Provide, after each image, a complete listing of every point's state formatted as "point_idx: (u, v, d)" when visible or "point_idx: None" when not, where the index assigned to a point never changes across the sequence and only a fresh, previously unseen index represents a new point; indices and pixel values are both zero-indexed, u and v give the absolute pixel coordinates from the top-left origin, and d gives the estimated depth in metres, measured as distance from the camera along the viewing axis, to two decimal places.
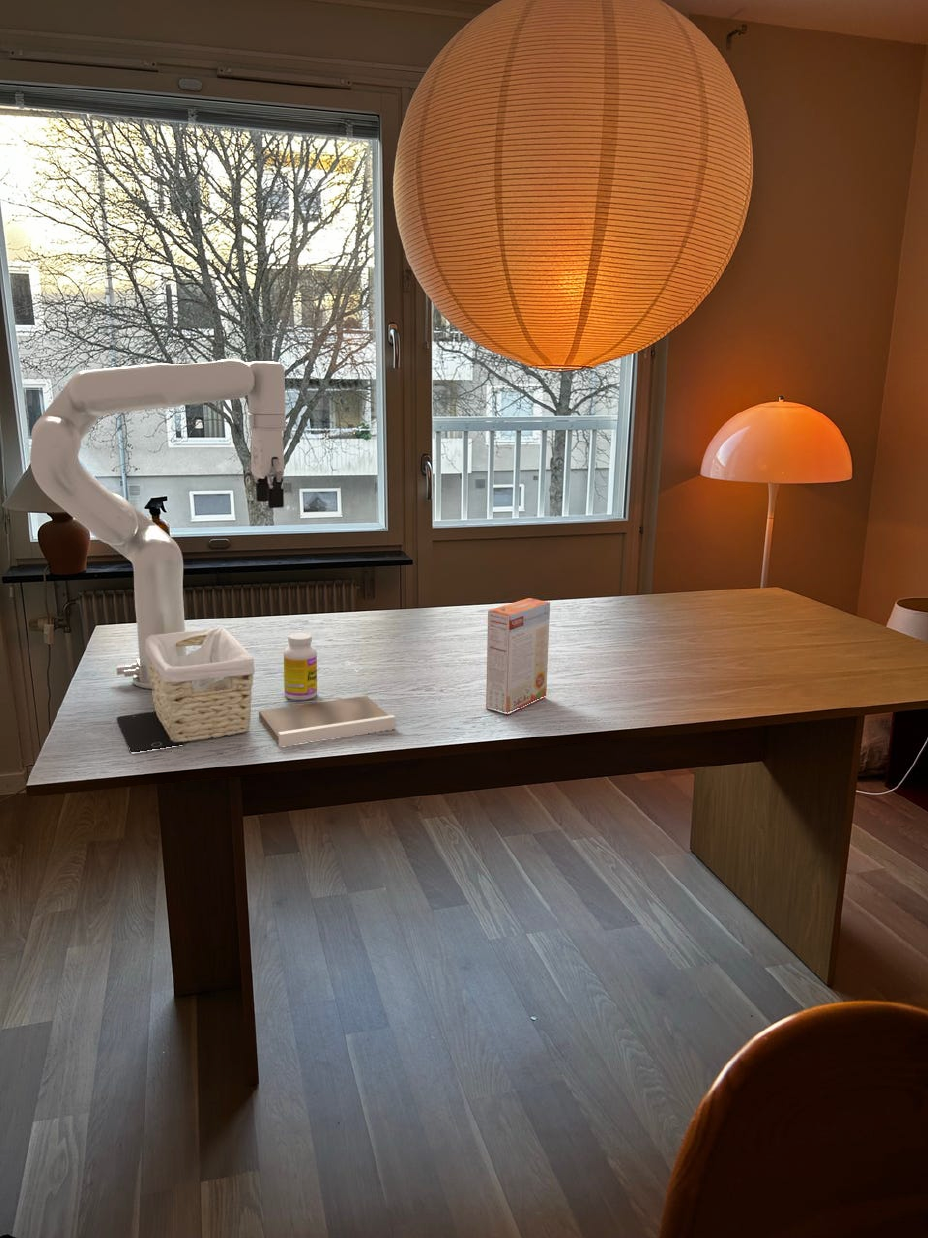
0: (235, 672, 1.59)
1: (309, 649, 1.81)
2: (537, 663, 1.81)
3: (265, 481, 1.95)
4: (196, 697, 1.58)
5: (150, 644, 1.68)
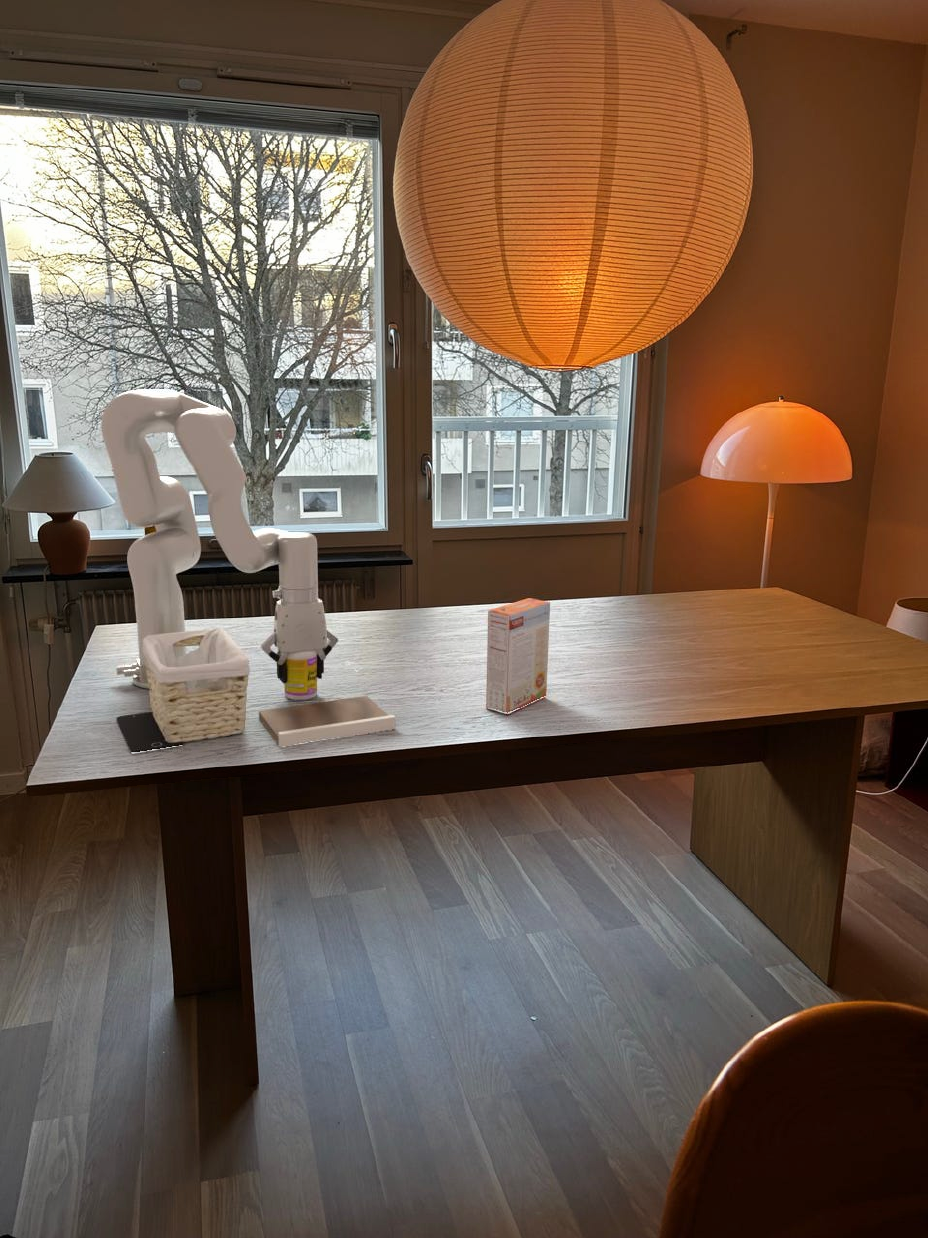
0: (230, 673, 1.59)
1: None
2: (537, 663, 1.81)
3: None
4: (191, 698, 1.58)
5: (147, 644, 1.68)
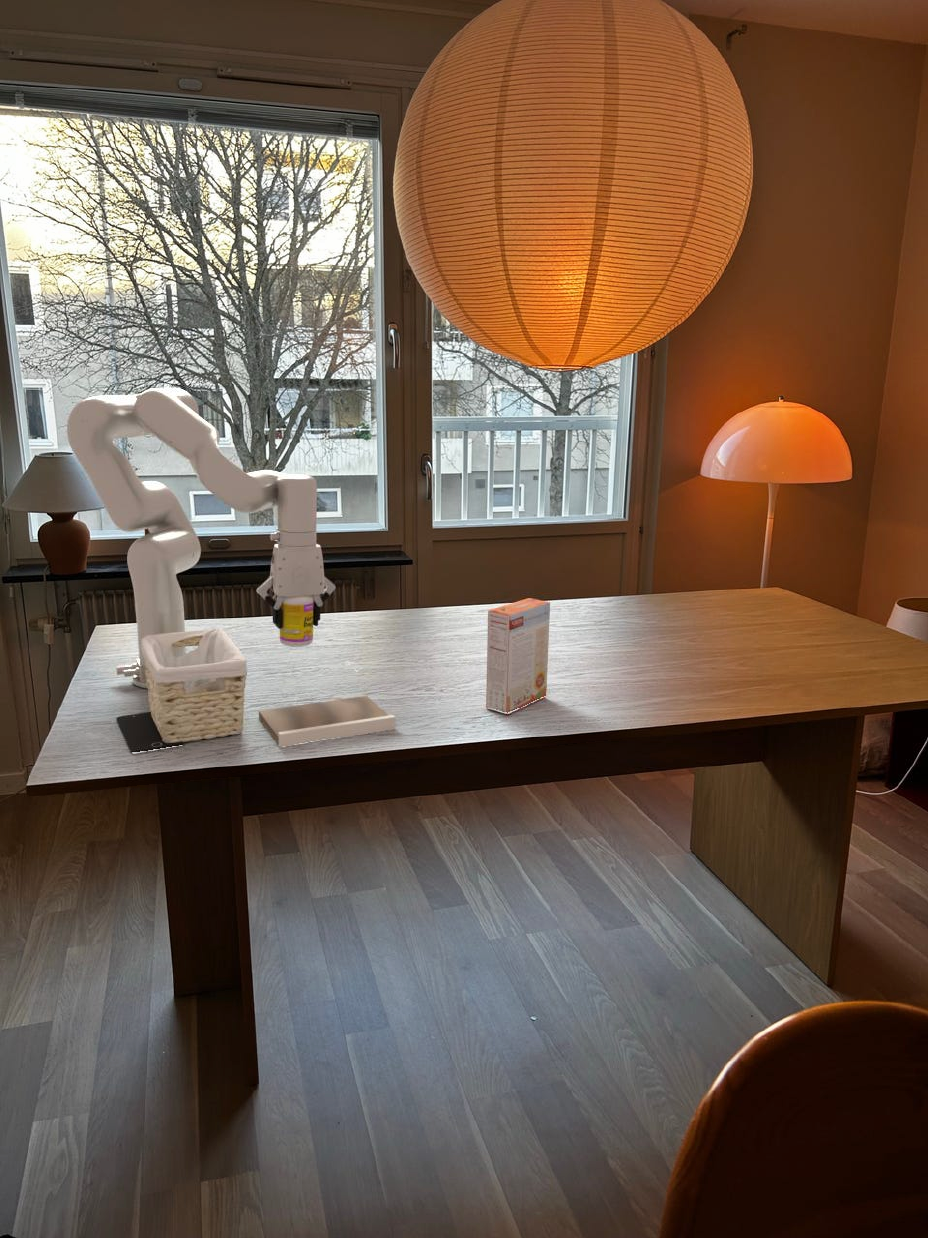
0: (227, 673, 1.58)
1: None
2: (537, 663, 1.81)
3: None
4: (188, 698, 1.58)
5: (145, 644, 1.68)
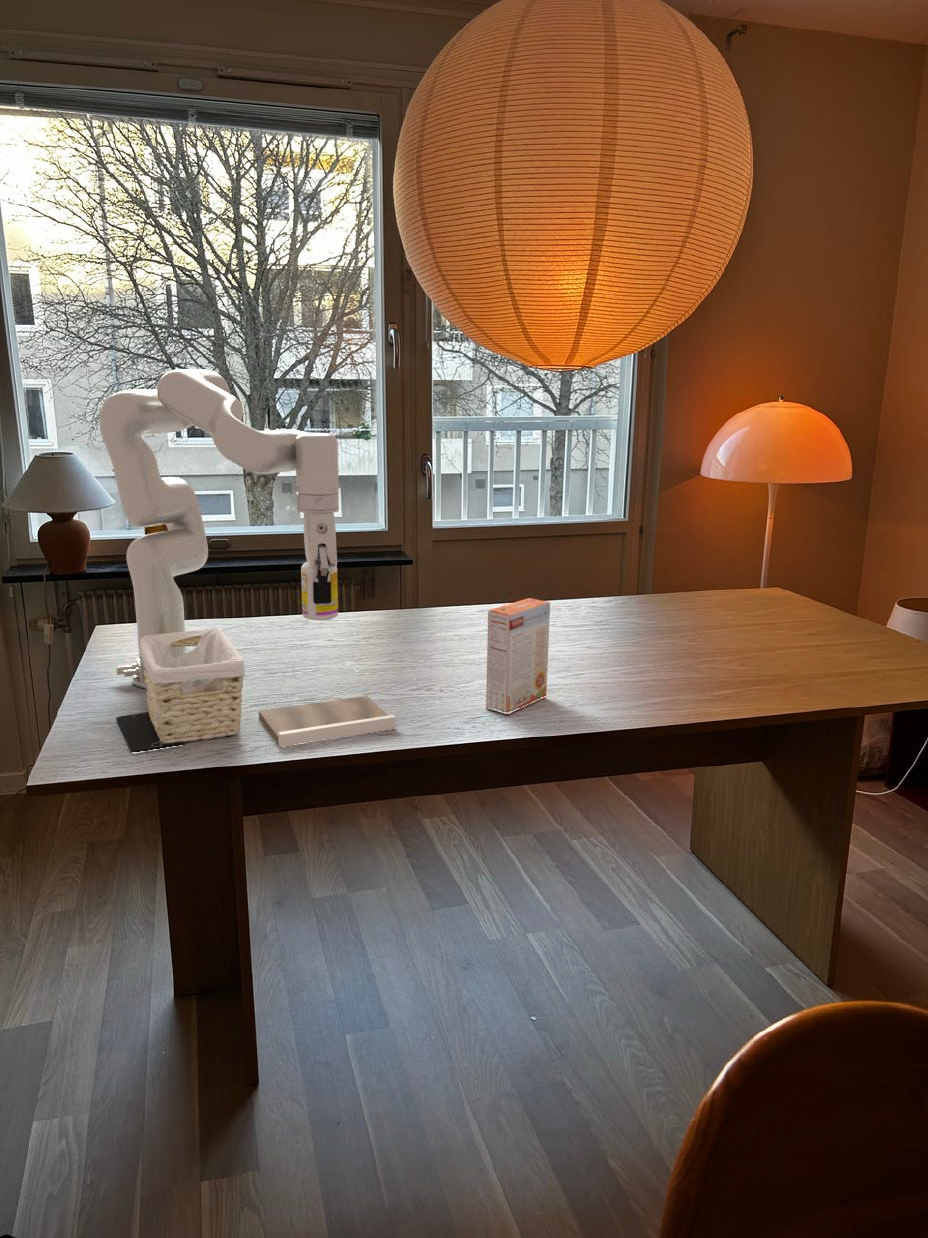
0: (224, 674, 1.58)
1: None
2: (537, 663, 1.81)
3: None
4: (185, 698, 1.57)
5: (143, 644, 1.67)
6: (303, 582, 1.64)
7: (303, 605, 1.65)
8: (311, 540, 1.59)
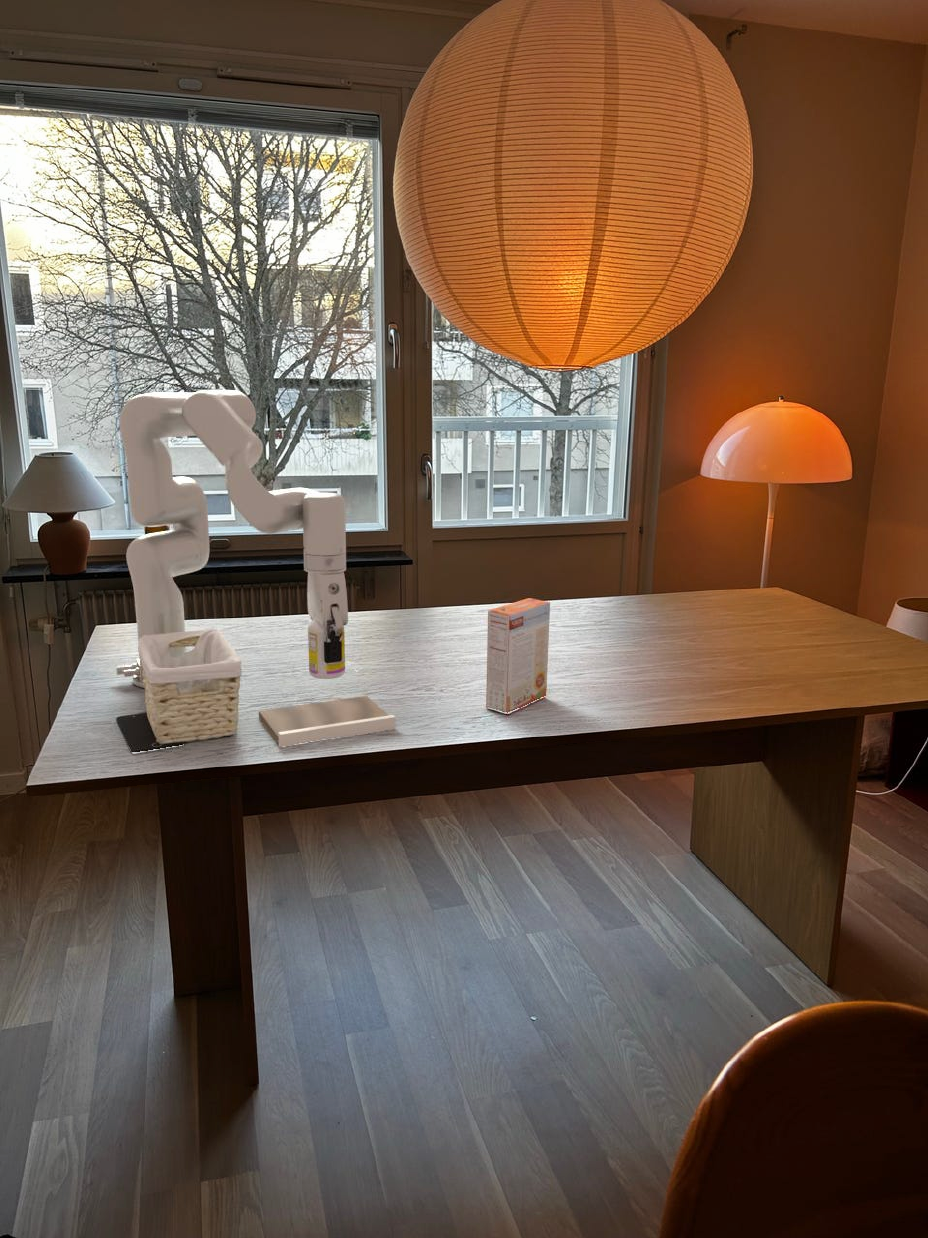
0: (221, 674, 1.58)
1: None
2: (537, 663, 1.81)
3: None
4: (182, 699, 1.57)
5: (141, 644, 1.67)
6: (312, 641, 1.63)
7: (311, 664, 1.64)
8: (324, 601, 1.58)
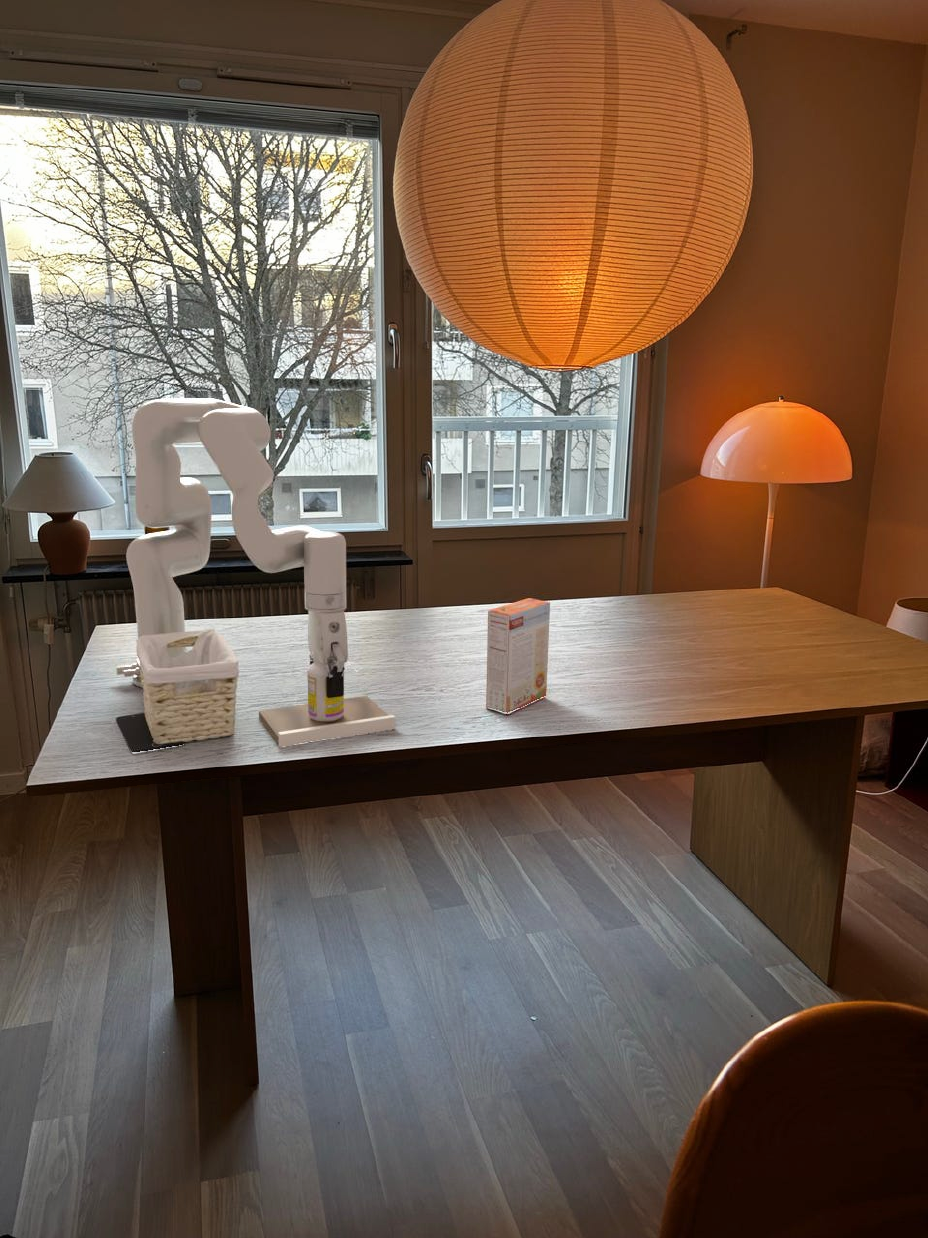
0: (218, 675, 1.58)
1: None
2: (537, 663, 1.81)
3: None
4: (179, 699, 1.57)
5: (139, 645, 1.67)
6: (312, 685, 1.65)
7: (311, 707, 1.67)
8: (324, 639, 1.60)
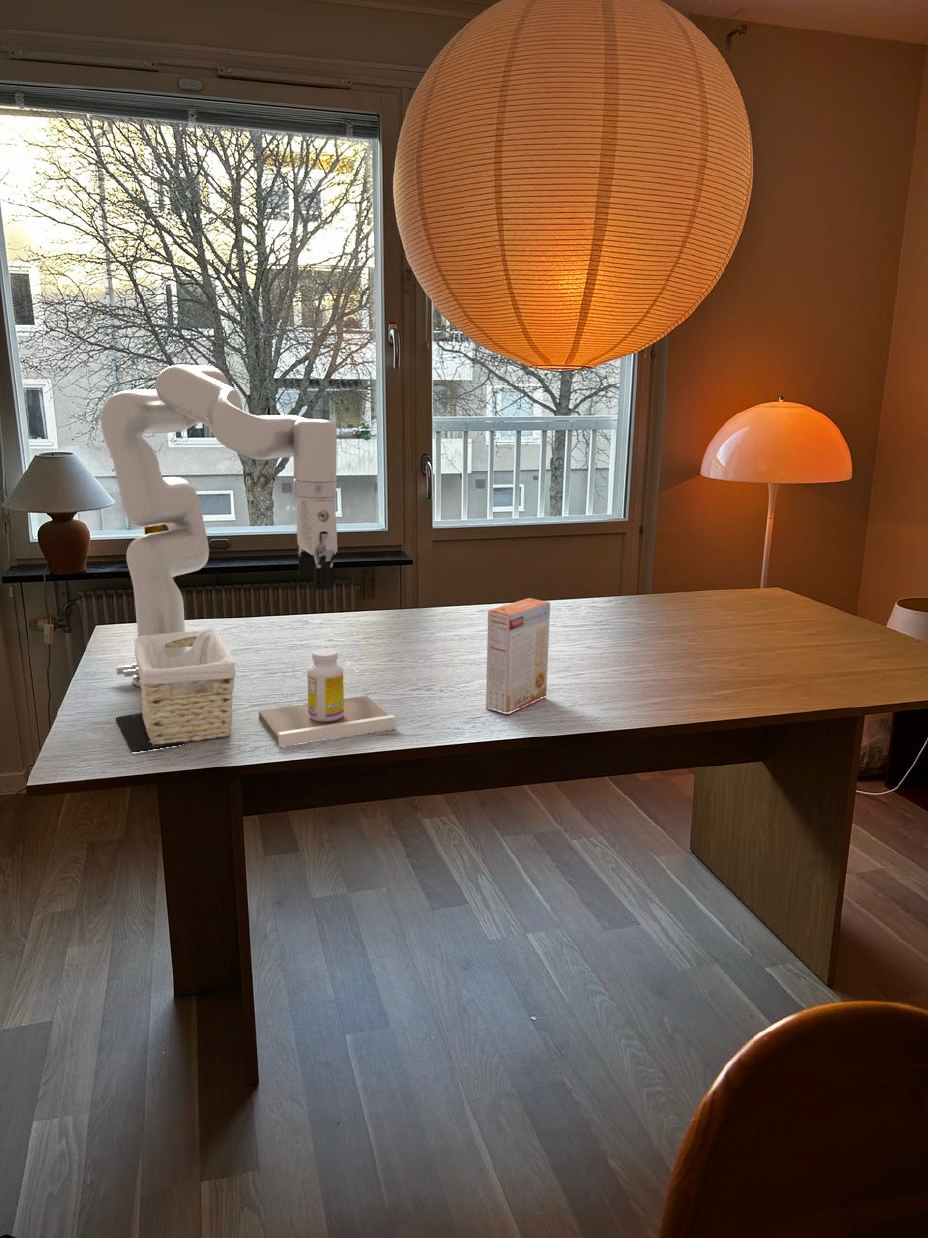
0: (215, 675, 1.57)
1: None
2: (537, 663, 1.81)
3: None
4: (175, 700, 1.57)
5: (137, 645, 1.67)
6: (312, 685, 1.65)
7: (311, 707, 1.67)
8: (312, 528, 1.57)
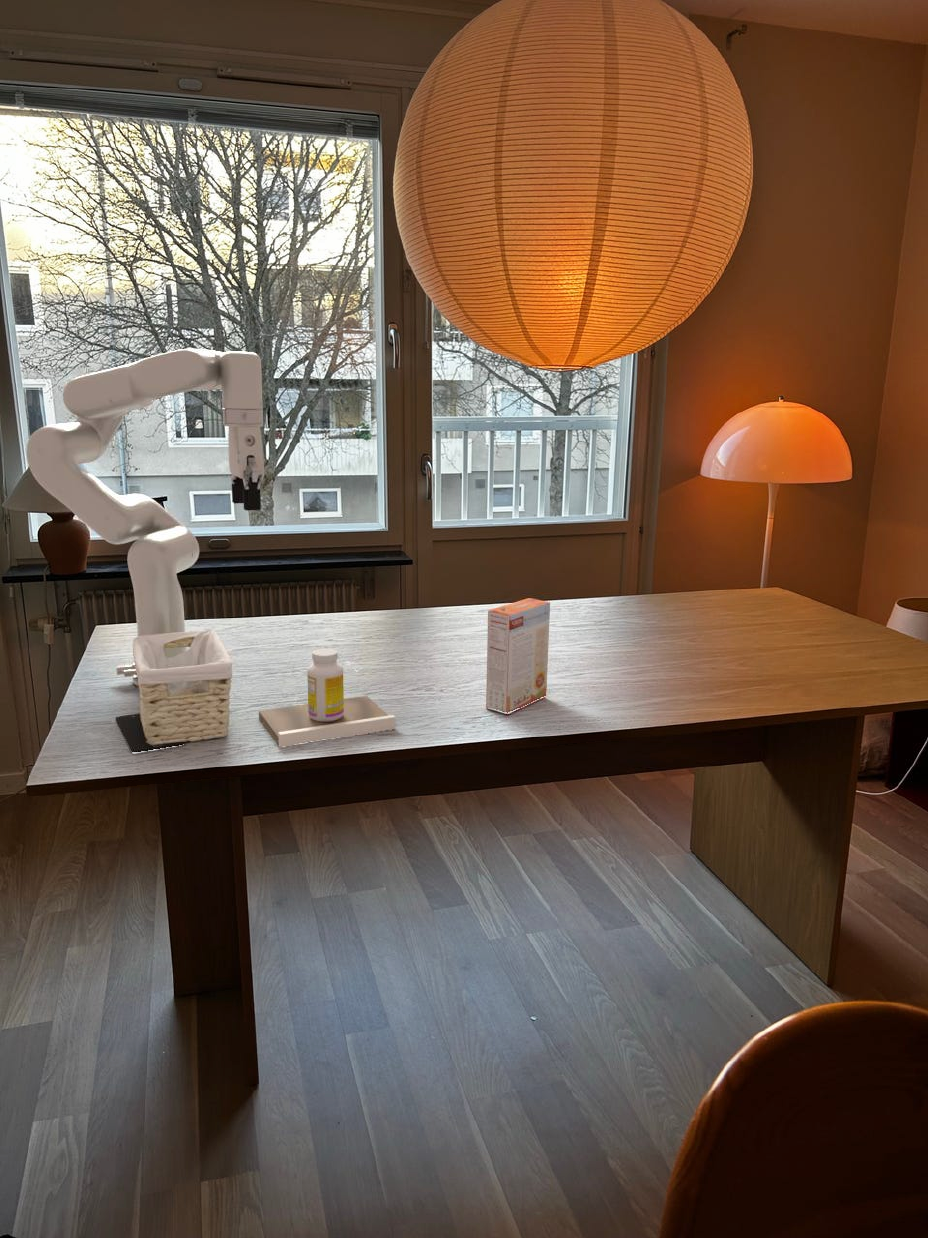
0: (211, 676, 1.57)
1: None
2: (537, 663, 1.81)
3: None
4: (172, 700, 1.57)
5: (134, 645, 1.67)
6: (312, 685, 1.65)
7: (311, 707, 1.67)
8: (240, 452, 1.70)
